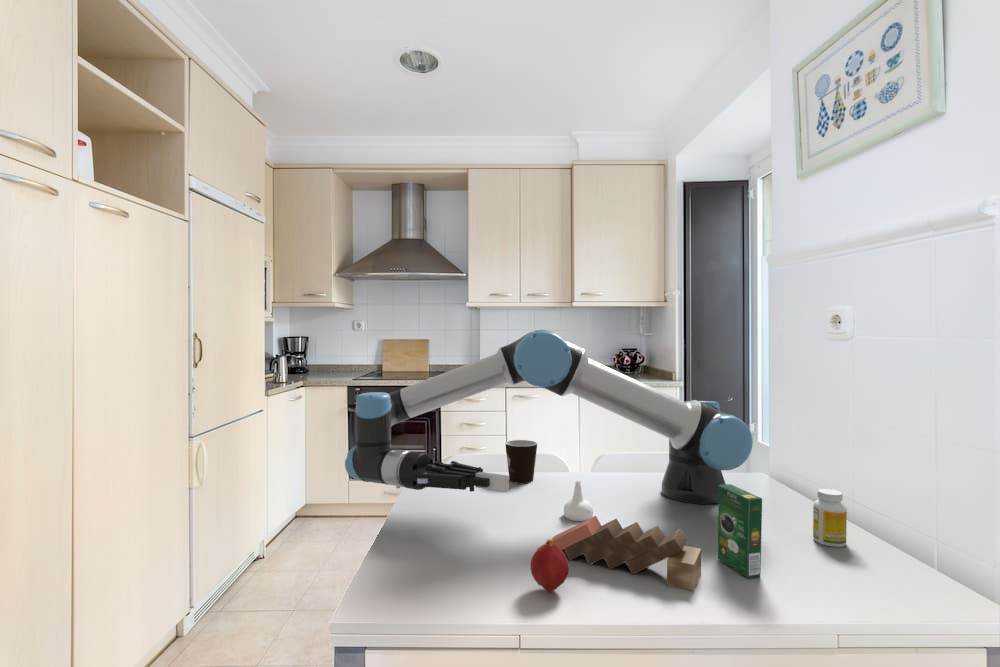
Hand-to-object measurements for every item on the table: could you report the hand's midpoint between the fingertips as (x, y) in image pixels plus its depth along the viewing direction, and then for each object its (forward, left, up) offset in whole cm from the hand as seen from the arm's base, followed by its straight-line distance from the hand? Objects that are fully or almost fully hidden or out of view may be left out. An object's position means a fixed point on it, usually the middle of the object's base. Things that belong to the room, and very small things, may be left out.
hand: (506, 483), depth 101 cm
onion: (-3, +21, -11) cm, 24 cm away
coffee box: (-36, +19, -11) cm, 42 cm away
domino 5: (-19, +15, -10) cm, 26 cm away
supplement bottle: (-60, +12, -11) cm, 62 cm away
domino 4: (-16, +13, -10) cm, 23 cm away
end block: (-25, +21, -11) cm, 34 cm away
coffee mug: (-13, -42, -11) cm, 46 cm away
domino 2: (-10, +8, -10) cm, 17 cm away
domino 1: (-7, +6, -10) cm, 14 cm away
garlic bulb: (-18, -10, -11) cm, 23 cm away
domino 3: (-13, +11, -10) cm, 20 cm away
